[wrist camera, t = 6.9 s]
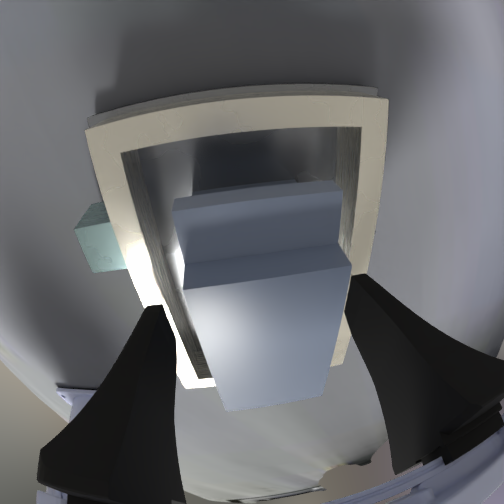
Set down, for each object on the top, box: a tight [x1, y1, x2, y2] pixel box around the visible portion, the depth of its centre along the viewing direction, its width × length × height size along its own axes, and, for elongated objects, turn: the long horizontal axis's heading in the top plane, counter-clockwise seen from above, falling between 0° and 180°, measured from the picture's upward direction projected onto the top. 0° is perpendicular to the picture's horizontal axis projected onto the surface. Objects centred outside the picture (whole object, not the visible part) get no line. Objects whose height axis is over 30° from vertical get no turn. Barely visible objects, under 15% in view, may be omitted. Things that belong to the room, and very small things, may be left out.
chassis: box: [74, 83, 389, 389], centre depth 13 cm, size 15×12×3 cm
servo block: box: [171, 179, 352, 412], centre depth 11 cm, size 10×4×6 cm, turn 4°
